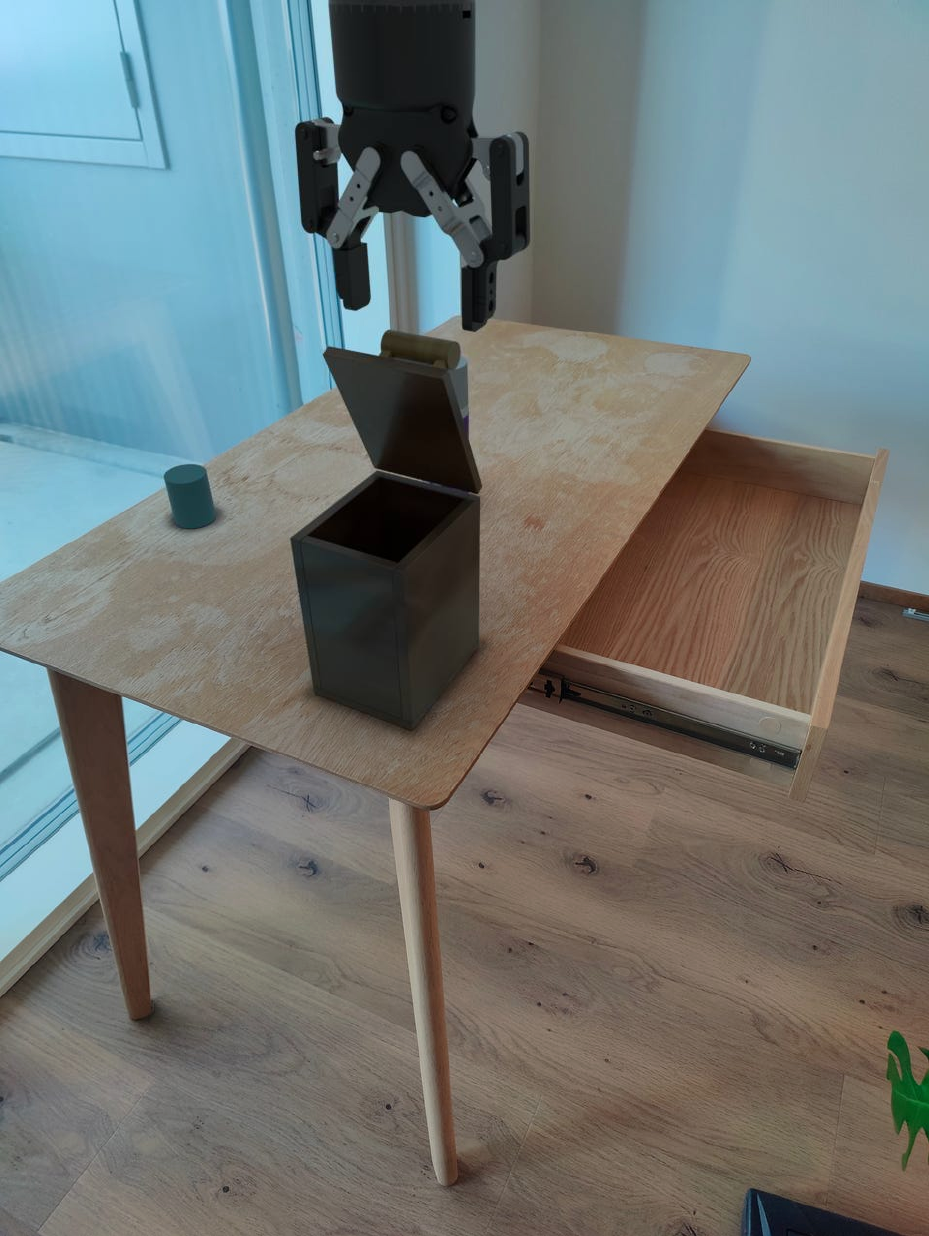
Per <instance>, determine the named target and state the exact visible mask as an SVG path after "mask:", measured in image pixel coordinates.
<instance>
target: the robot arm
mask: <svg viewBox="0 0 929 1236" xmlns="http://www.w3.org/2000/svg"><path fill="white" fill-rule="evenodd" d="M327 3H328V4H327V6H328V18H329V29H330V30H329V31H330V41H331V42H330V43H331V52H332V64H333V75H334V88H335V95H336V97H337V98H336V99H337V100H338V101H339V103H340V104H341V108H342V118H341V121H340V122H341V123H340V124H338V123H335V122H334V121H333V119H332V118H331V117H329V116H324V117H319V118H318V117H317V118H315V119H314V118H313V119H309V120H305V121H300V122H298V123H297V124H296V126H295V128H294V137H295V139H294V140H295V153H296V154H295V155H296V168H297V180H298V181H297V182H298V195H299V196H298V197H299V209H300V223H301V226H302V228H303V230H304V232H306V233H307V234H310V235H312V234H316V235H318V236H320V237H322V238H324V239H325V240H326V241H327V243H328V245H329V246H330V247H331V250H332V257H333V269H334V279H335V291H336V293H337V296H338V298H339V300H342V306H343V308H344V309H345V310H348V311H353V312H357V311H359V310H361V309H363V308H365V307H367V306H369V305H370V303H371V298H372V294H371V293H372V292H371V279H370V278H371V277H370V266H369V263H370V262H369V252H368V243H367V242H363V241H362V239H363V238H364V236H365V234H366V232H367V231H368V229H369V227H370V226H371V224H372V222H373V221H374V218H375V217H376V216H377V214H379V213H383V214H393V213H398V212H403V213H405V214H408V215H410V216H412V217H417V218H424V219H425V218H427V217H428V218H429V217H430V216H433V219H434V220H435V222H436V223H437V225H438V227H439V229H440V230H441V231H442V232H443V234H446V235H447V236H449V237H450V238H451V240H452V241H453V243H454V245H455V246H456V248H457V250H458V251H459V254H460V255H461V256H462V258H463V260H464V261H465V264H466V265H464V266H462V267H461V271H460V273H461V274H460V275H461V328H462V330H463V331H467V332H471V333H472V332H473V333H477V331H479V330H480V329H482V328H484V327H485V326H486V325H487V323H488V321H489V320H490V319H491V318H493V317H494V314H495V312H496V309H497V278H498V277H497V275H498V274H497V273H498V272H497V269H498V263H499V261H506V260H509V259H510V258H512V257H513V256H515V255H517V254H518V253H520V252H523V251H525V250H526V249H527V248H528V247H529V246H530V243H531V200H530V199H531V198H530V197H531V196H530V193H531V192H530V190H531V189H530V141H529V138H528V136H527V135H526V133H525V132H523V131H520V130H518V131H514V132H509V133H506V134H502V135H479V132H478V130H477V127H476V124H475V121H474V104H475V97H476V9H477V8H476V5H477V4H476V0H327ZM341 156H343V157H344V159H345V161H346V162H347V164H348V166H349V168H350V170H351V171H352V175H351V177H350V179H349V181H348V183H347V185H346V187H345V188H344V191H343V192H342V195H341V197H340V188H339V166H338V162H339V161H340V160H341ZM477 162H479V164H480V165H481V168H482V175H483V176H484V177H485V179H486V180H488V181H489V185H490V187H489V188H490V189H489V190H490V213H491V215H490V216H491V223H490V222H489V220H488V218H487V216H486V206H485V204H484V203H483V201H482V199H481V198H480V195H479V194H478V191H476V189H475V186H474V185H473V184H472V182H471V179H470V178H469V177H468V176H469V175H470V173H471V171H472V170H473V168H474V167H475V165H476V163H477ZM454 202H455V203H454Z"/></svg>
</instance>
